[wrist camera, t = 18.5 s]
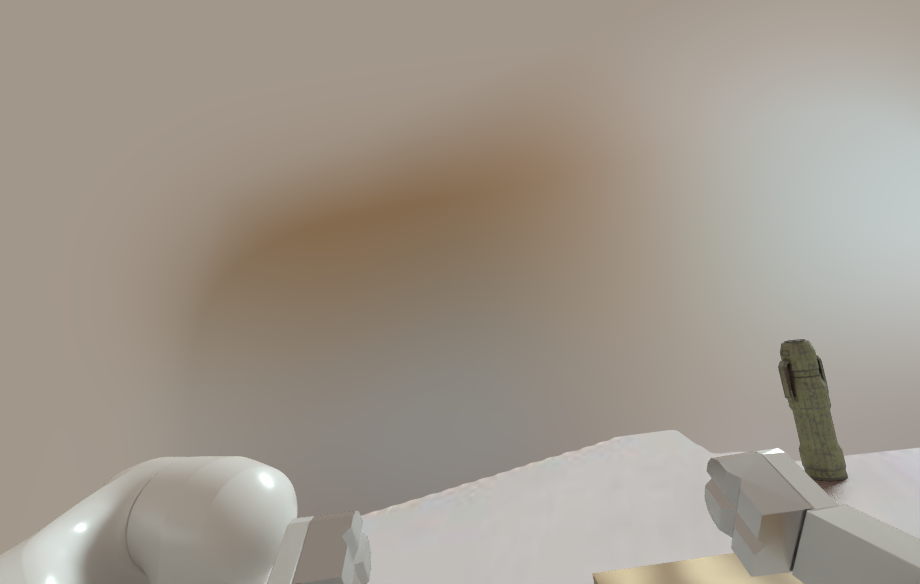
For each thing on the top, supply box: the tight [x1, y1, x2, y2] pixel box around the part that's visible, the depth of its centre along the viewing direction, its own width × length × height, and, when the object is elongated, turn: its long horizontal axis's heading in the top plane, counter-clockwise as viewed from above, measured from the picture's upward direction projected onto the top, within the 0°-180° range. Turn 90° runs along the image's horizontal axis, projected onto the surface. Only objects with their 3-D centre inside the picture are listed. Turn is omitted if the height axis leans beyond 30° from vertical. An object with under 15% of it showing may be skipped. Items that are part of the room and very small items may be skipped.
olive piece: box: [778, 339, 848, 481], centre depth 118 cm, size 9×12×35 cm
